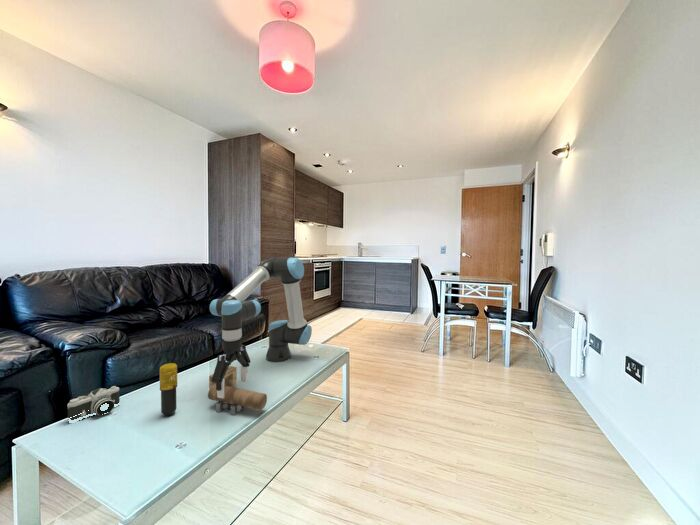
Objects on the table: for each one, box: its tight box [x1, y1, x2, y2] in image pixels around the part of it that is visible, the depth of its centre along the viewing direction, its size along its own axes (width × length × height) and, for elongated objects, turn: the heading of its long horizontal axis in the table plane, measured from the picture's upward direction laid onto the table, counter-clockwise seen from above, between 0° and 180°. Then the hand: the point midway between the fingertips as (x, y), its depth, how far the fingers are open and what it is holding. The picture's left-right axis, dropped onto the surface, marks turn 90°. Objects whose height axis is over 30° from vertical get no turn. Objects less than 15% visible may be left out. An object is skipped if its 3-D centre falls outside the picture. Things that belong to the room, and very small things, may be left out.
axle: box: [207, 384, 268, 411], centre depth 114 cm, size 24×6×6 cm, turn 73°
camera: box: [66, 385, 121, 420], centre depth 110 cm, size 16×9×10 cm, turn 150°
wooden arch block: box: [208, 365, 238, 390], centre depth 131 cm, size 5×12×9 cm, turn 163°
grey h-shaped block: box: [215, 401, 246, 416], centre depth 115 cm, size 8×9×4 cm
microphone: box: [159, 362, 178, 418], centre depth 111 cm, size 6×13×20 cm, turn 84°
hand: (232, 389), depth 115 cm, fingers open, 13 cm apart
